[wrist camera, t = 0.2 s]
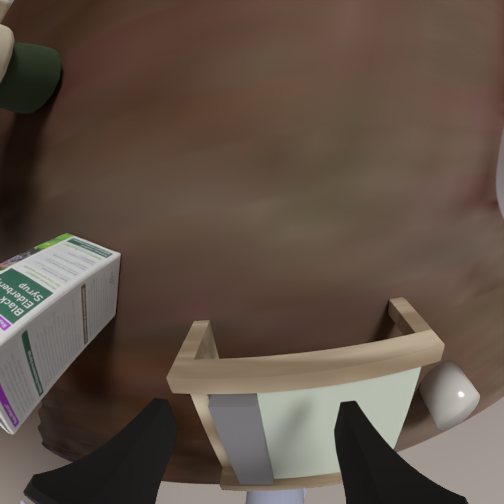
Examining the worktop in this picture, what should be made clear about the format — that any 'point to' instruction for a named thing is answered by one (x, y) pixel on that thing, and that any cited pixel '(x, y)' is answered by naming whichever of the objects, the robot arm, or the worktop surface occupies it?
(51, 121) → the worktop surface
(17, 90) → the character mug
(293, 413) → the trapdoor
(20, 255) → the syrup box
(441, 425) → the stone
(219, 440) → the frame
